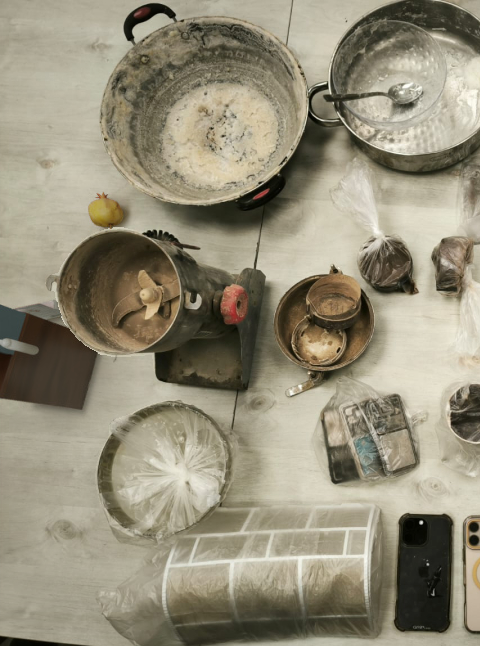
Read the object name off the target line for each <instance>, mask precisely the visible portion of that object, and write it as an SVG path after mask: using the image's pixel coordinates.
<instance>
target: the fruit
mask: <svg viewBox="0 0 480 646" xmlns="http://www.w3.org/2000/svg"><path fill="white" fill-rule="evenodd" d="M108 196H109V193H106V194H105V192H104V191H102V193H101V194H100V193H98V192H96V197H95V200H93V201H91V202H90V203H89V204H88V207H87V212H88V216H89V218H90V221H91V222H92V223H93V225H95V226H97V227H100V228H109V230H110V229H113V227H116V226H119V225H120V224H121V223H122V221H123V220H124V211H123V209H122V207H121V205H120V204H119V202H118V201H116V200H114V199H112V198H109V197H108Z"/></svg>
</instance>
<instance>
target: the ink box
mask: <svg viewBox="0 0 480 646" xmlns="http://www.w3.org/2000/svg"><path fill="white" fill-rule="evenodd" d="M57 301H58V300H55V299H52V300H51V299H50V300H47V301H42V302H41V301H40V302H37V303H33V304H29V305H24V306H20V307H15V308H14V309H15V310H18V311H20V312H26V313H29V314H32V315H34V316H37V317H40V318H43V319H46V320H50V319H55V318H59V317H63V316H62V315H61V313H60V310H59V307H58V302H59V301H58V302H57Z"/></svg>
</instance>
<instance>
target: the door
mask: <svg viewBox="0 0 480 646" xmlns="http://www.w3.org/2000/svg"><path fill="white" fill-rule="evenodd" d="M25 316H26V313H23V312H20V311H18V310H15V308H12V307H9V306H7V305H4V304H0V352H3V353H7V354H11V355H14V352H15V350H16V351H20V352H24V353H28V354H31V355H34V354H37V353H38V351H39V349H38V347H36V346H33V345H30V344H26V343H23V342H19V341H18V339H19V336H20V332H21V329H22V326H23V323H24V320H25Z"/></svg>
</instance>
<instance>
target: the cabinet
mask: <svg viewBox="0 0 480 646" xmlns="http://www.w3.org/2000/svg"><path fill="white" fill-rule="evenodd" d="M23 313H26V312H23ZM69 328H70V327H68V326H65V325H62V324H61V323H57V322H54V321H52V320H49V319H43V318H40V317H37V316H34V315H32V314H29V313H26V316H25V320H24V323H23V326H22V329H21V332H20V336H19V339H18V341H19V342H23V343H26V344H30V345H33V346H36V347H38V349H39V351H38V353H37V354H34V355H31V354H28V353H24V352H20V351H16V350H15V352H14V355H11V354H7V353H3V352H0V400H6V401H14V402H19V403H20V402H21V403H26V404H27V403H28V404H35V405H40V406H49V407H56V408H63V409H64V408H65V409H73V410H83V407H84V403H85V399H86V396H87V393H88V389H89V385H90V382H91V379H92V374H93V371H94V368H95V364H96V360H97V356H98V352H99V351H98V352H96V351H94V350H92V349H90V348H89V347H87V346H85V345H84V344H83V343H82V342H81V341H79V340H78V339H77V338H76V337H75V335H74V334H73V333H72V332H71V331H70V329H69Z"/></svg>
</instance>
